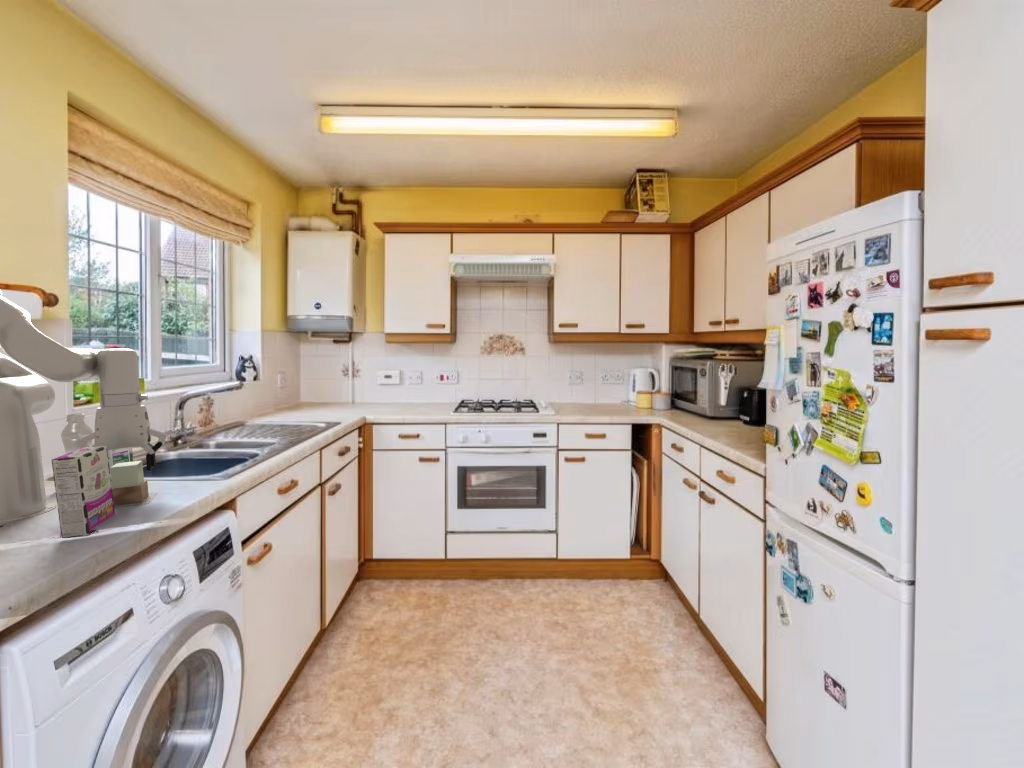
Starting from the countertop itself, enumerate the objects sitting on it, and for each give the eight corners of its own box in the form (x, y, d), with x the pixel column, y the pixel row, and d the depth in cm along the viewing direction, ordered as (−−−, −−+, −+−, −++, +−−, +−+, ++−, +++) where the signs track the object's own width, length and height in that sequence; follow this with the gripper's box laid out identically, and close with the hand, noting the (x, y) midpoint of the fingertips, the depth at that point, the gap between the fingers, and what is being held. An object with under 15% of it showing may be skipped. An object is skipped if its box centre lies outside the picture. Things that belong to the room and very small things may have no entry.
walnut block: (111, 506, 114) (109, 489, 114) (118, 499, 119) (117, 483, 119) (142, 502, 116) (141, 485, 116) (148, 495, 122) (147, 479, 121)
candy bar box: (89, 520, 108) (81, 447, 106) (116, 517, 109) (109, 445, 108) (58, 539, 97) (49, 458, 96) (88, 536, 98) (80, 456, 97)
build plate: (100, 514, 112) (100, 509, 111) (113, 501, 120) (113, 497, 120) (148, 507, 115) (148, 503, 115) (158, 496, 124) (157, 492, 124)
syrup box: (115, 500, 121) (110, 443, 120) (96, 499, 123) (90, 442, 121) (137, 493, 127) (132, 438, 126) (118, 492, 128) (113, 438, 127)
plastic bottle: (96, 485, 135) (89, 414, 133) (64, 490, 131) (56, 416, 130) (100, 480, 140) (93, 411, 139) (68, 485, 137) (61, 414, 135)
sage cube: (118, 483, 119) (116, 463, 118) (143, 480, 121) (142, 460, 120) (112, 488, 114) (110, 467, 114) (138, 485, 116) (136, 464, 116)
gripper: (167, 397, 123) (172, 464, 124) (79, 401, 115) (85, 472, 117) (161, 400, 116) (166, 471, 117) (67, 404, 109) (73, 480, 110)
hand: (125, 471), depth 117 cm, fingers open, 9 cm apart
